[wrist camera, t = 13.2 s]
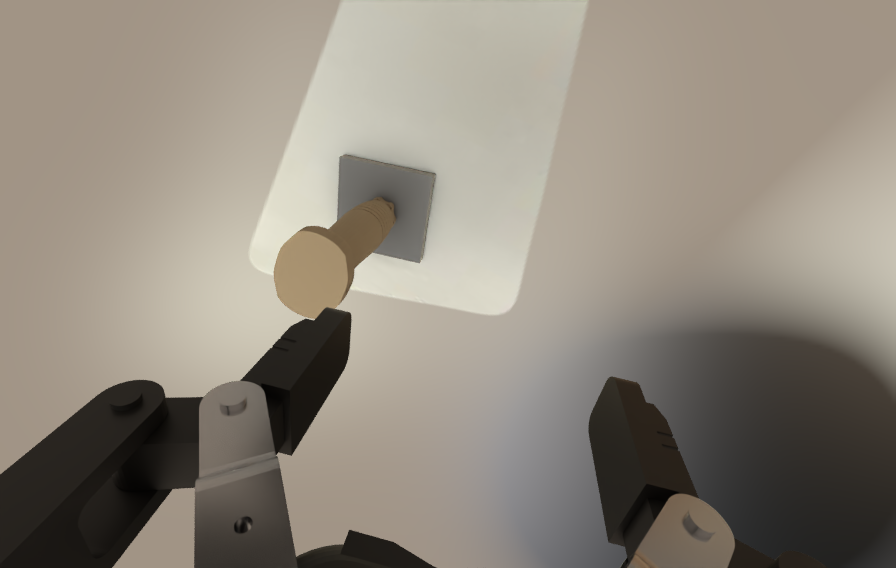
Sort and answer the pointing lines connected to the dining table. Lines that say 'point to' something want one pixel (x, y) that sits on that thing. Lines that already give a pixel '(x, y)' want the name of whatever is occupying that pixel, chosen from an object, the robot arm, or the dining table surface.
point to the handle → (329, 257)
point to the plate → (395, 186)
